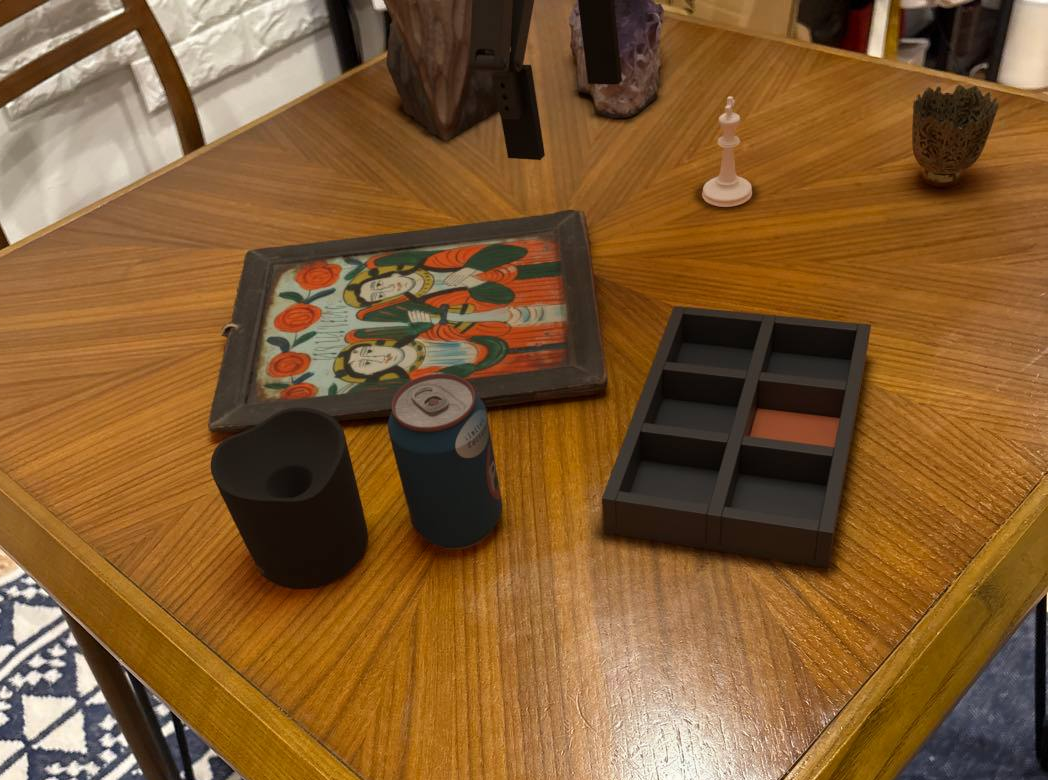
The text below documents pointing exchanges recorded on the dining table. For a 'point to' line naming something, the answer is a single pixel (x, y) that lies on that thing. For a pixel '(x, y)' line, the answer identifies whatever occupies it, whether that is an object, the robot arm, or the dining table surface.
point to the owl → (437, 65)
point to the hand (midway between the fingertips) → (567, 118)
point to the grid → (741, 435)
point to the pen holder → (294, 497)
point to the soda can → (445, 460)
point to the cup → (950, 132)
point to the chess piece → (727, 166)
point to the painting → (413, 320)
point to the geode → (625, 58)
